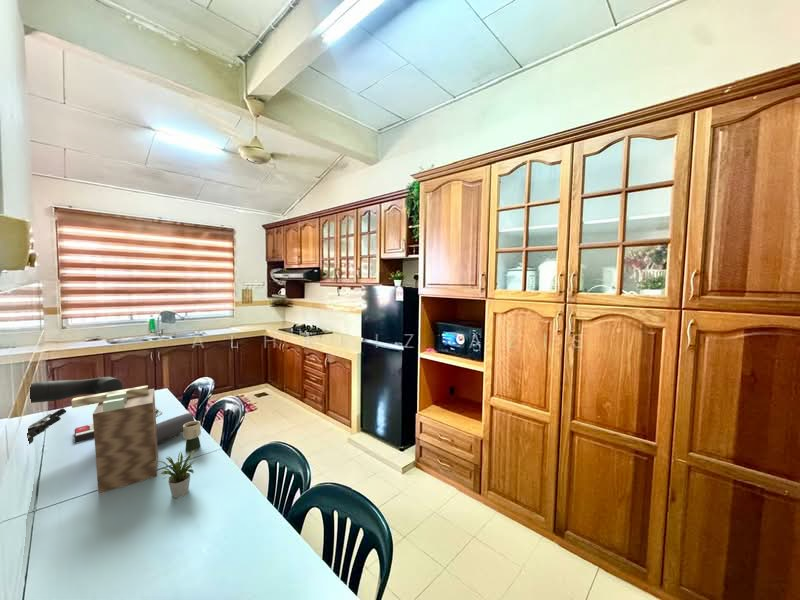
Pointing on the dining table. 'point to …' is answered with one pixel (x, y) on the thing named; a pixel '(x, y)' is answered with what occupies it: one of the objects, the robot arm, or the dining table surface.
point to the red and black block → (84, 433)
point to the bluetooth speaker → (172, 427)
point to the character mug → (192, 435)
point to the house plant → (179, 475)
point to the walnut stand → (126, 443)
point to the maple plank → (102, 396)
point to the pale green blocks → (114, 401)
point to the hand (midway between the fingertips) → (61, 413)
